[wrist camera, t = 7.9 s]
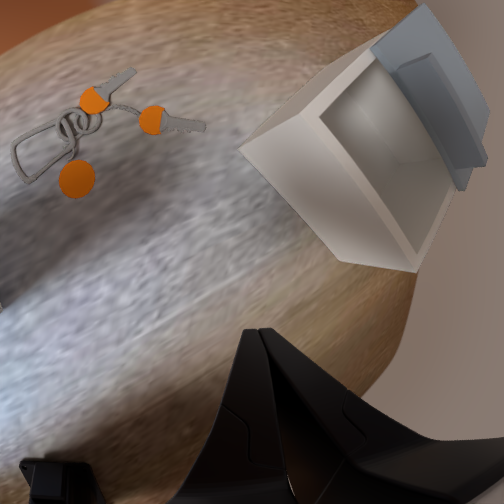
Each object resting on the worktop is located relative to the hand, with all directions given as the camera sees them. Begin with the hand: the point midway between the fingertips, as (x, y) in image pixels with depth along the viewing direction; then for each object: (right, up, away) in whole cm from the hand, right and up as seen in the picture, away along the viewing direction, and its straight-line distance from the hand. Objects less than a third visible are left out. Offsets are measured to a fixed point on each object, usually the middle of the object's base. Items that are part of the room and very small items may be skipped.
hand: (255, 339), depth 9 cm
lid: (+15, +15, +9) cm, 23 cm away
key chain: (-10, +10, +9) cm, 17 cm away
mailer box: (+7, +10, +15) cm, 20 cm away
